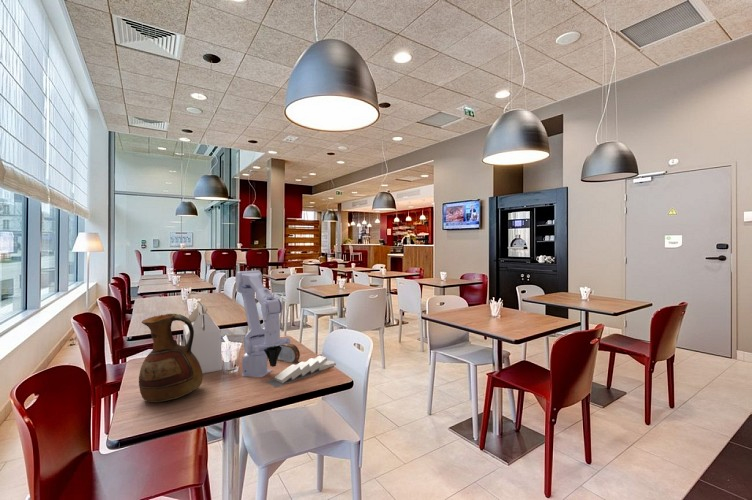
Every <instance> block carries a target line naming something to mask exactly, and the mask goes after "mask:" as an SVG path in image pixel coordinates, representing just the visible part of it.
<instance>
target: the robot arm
mask: <svg viewBox="0 0 752 500" xmlns="http://www.w3.org/2000/svg"><path fill="white" fill-rule="evenodd" d="M234 280H235V287H236V289H237V292H238V293H239V294H240V295H241V297H242V301H243V307H244V312H245V316H246V322H247V327H248V332H247V333H246V334H245V335H244V336H243V350H244V352H245V353H244V354H243V356H242V361H241V362H242V363H241V364H242V374H241V377H252V378H254V377H255V378H264V376H266V375H268V374H269V373H270V372H271V371H272V369H268V363H269V366H270V367H273V368H274V367H276V366H277V363H278V360H277V359H278V356H279V354H280V352H281V350H282V347H280V345H284V344H291V338H289V337H284V338H281V329H280V327H281V325H280V323H281V322H280V319H281V318H280V314H281V313H282V310H283V303H282V301H281V299H280V298H278V297H275V296H274V295H273V294H272V292H271V290H270V289H269V288H267V287H265V286H264V284H263V283H264V282H263V275H262V272H261V271H260V270H259V269H256V270H243V271H242V270H241V271H240V270H237V272H236V274H235V279H234ZM256 299H257V301H258V303H259V304H260V310H261V311H260V312H261V313H262V320H263V325H264V327H262V325H261V321H260V317H259V316H260V315H259V312H258V305H257V303H256ZM262 328H264V329H262ZM255 337H256V338H255ZM268 361H269V362H268Z"/></svg>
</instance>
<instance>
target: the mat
mask: <svg viewBox="0 0 752 500" xmlns="http://www.w3.org/2000/svg"><path fill="white" fill-rule="evenodd" d="M324 371H325V369H323V370H317V369H316V370H315V371H314V372H313V373H310V372H308V373H307V374H305V375H304V376H301V375H299V376H297V377H296V378H295V379H293V380H292V379H288V380H287V381H285V382H284V383H281V382H278V381H276V380H275V378H273V379H270V380H267V381H265V383H266V384H268V385H269V386H270V385H271V386H272V387H274V388H279V387H282V386H284V385H287V384H290V383H293V382H296V381H298V380H302V379H305V378H307V377H310V376H314V375H316V374H318V373H322V372H324Z"/></svg>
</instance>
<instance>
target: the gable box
mask: <svg viewBox="0 0 752 500" xmlns="http://www.w3.org/2000/svg"><path fill="white" fill-rule="evenodd" d="M207 311H208V308H207V307H206V305H205V304H204V303H201V302H200V301H198V307H196V308H195V309H193V311H192V313H191V314H190V315H189V317H187V318H188V319H189V320H190V321H191V323H192V326H193V329H194V336H193V342H192V347H191V352H192V353H193V354H194V355H195V357H196V358H197V360H198V361H199V364H200V366H201V369H202V375H203V374H208V373H212V372H218V371H222V370H223V359H222V358H223V357H222V356H223V355H222V354H223V353H222V331H221V329H220V327H219V326H218V325H217V324H216V322H215V321H214V320H213V319H212V317H211V316H210V315H209V314H208V312H207ZM182 328H183V346H185V345H186V344H187V343H188V340H189V337H190V331H189V328H188V326H187V324H186V323H184V324H183V326H182ZM221 353H222V354H221Z"/></svg>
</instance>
